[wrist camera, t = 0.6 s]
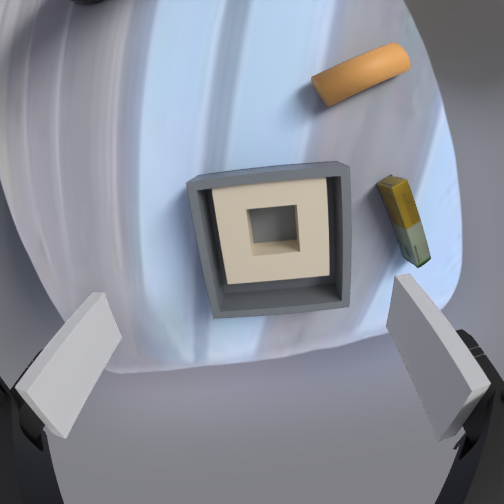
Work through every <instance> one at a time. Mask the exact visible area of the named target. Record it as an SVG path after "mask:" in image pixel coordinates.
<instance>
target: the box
mask: <svg viewBox="0 0 504 504" xmlns="http://www.w3.org/2000/svg"><path fill="white" fill-rule="evenodd" d="M186 185H187V191H188V196H189V202H190V208H191V213H192V218H193V224H194V229H195V234H196V239H197V244H198V249H199V254H200V259H201V264H202V269H203V274H204V278H205V283H206V287H207V292H208V296H209V301H210V305H211V309H212V314H213V318H214V319H215V318H234V317H250V316H264V315H277V314H288V313H299V312H309V311H319V310H328V309H337V308H345V307H349V303H350V284H351V245H352V225H351V186H350V167H349V166H348V165H346V164H343V163H340V162H338V161H333V162H316V163H302V164H290V165H279V166H268V167H259V168H250V169H241V170H233V171H226V172H218V173H211V174H204V175H198V176H196V177H195V178H193V179H191V180H190V181H188V182H186Z"/></svg>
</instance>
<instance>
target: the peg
mask: <svg viewBox="0 0 504 504" xmlns="http://www.w3.org/2000/svg"><path fill="white" fill-rule="evenodd" d="M410 67H411V63H410V59H409V57H408V55H407V53H406V52H405V50H404V49H403V48H402V47H401V46H400V45H398V44H397V43H390V44H388V45H385V46H382V47H380V48H377V49H374V50H372V51H369V52H367V53H364V54H362V55H359V56H357V57H355V58H352V59H350V60H348V61H345V62H343V63H341V64H338V65H336V66H334V67H332V68H330V69H327V70H325V71H323V72H321V73H319V74H317V75H315V76H313V77H311V81H312V84H313V86H314V88H315V90H316V91H317V93H318V94H319V96H320V98H321V99H322V100H323V102H324V103H325V104H326V105H327V106H332V105H334V104H336V103H338V102H340V101H342V100H344V99H346V98H348V97H350V96H352V95H354V94H356V93H358V92H361V91H363V90H365V89H367V88H369V87H371V86H374V85H376V84H378V83H380V82H382V81H385V80H387V79H389V78H392V77H394V76H396V75H399V74H401V73H403V72H406V71H408V70H409V69H410Z"/></svg>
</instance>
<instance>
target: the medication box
mask: <svg viewBox="0 0 504 504" xmlns="http://www.w3.org/2000/svg"><path fill="white" fill-rule="evenodd" d="M377 185H378V188H379V190H380V193H381V195H382V198H383V200H384V203H385V206H386V208H387V211H388V214H389V216H390V219H391V222H392V225H393V227H394V230H395V233H396V236H397V239H398V242H399V245H400V248H401V251H402V254H403V257H404V258H405V259H406V260H407V261H409V262H410V263H412V264H413V265H415V266H416V267H417V268H419V267H421V266H423V265H424V264H425V263H427V262H428V261H429V260H430V259H431V256H430V252H429V248H428V244H427V240H426V237H425V233H424V230H423V226H422V223H421V219H420V216H419V213H418V210H417V207H416V204H415V201H414V198H413V195H412V192H411V189H410V186H409V184H408V181H407V179H403V178H399V177H394V176H392V175H390V176H388V177H387V178H385V179H383V180H382V181H380V182H379V183H377Z"/></svg>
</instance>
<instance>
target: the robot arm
mask: <svg viewBox="0 0 504 504" xmlns="http://www.w3.org/2000/svg"><path fill="white" fill-rule="evenodd" d="M71 1H73V2H75V3H77V4H81V5H89V4H94V3H98V2H101V1H103V0H71ZM386 327H387V329H388V331H389V333H390V335H391V337H392V339H393V341H394V343H395V345H396V347H397V349H398V351H399V353H400V355H401V358H402V359H403V362H404V363H405V366H406V368H407V370H408V372H409V375H410V377H411V379H412V381H413V383H414V386H415V388H416V390H417V392H418V395H419V397H420V400H421V402H422V404H423V406H424V409H425V411H426V414H427V416H428V419H429V421H430V424H431V426H432V429H433V431H434V434H435V437H436V439H437V442H439V441H442V440H444V439H447V438H449V437H452V436H455V435H456V434H457V432H458V431H459V430H460V429H461V427H462V426H463V427H464V430H465V432H466V433H465V434H464V435H463V436H462V437H461V439H460V440H459V441H458V442H457V443H456V445H455V447H454V448H453V449H457V447H458V446H459V445H460V446H459V449H458V452H457V454H456V457H455V459H454V462H453V465H452V467H451V470H450V472H449V474H448V477H447V479H446V481H445V484H444V486H443V488H442V490H441V492H440V494H439V496H438V498H437V500H436V502H435V504H504V381H503V380H502V378H501V377H500V376H499V374H498V372H497V371H496V369H495V368H494V366H493V365H492V363H491V362H490V360H489V359H488V358H487V356H486V355H484V352H483V351H482V349H481V348H480V347H479V345H478V344H477V342H476V341H475V340H474V338H473V337H472V336H471V335H469V334H468V333H467V332H465V331H464V330H462V329H461V330H457V331H455V330H454V329H453V327H452V326H451V324H450V323H449V322H448V320H447V319H446V318H445V317H444V315H443V314H442V313H441V311H440V310H439V309H438V307H437V306H436V305H435V304H434V302H433V301H432V300H431V299H430V297H429V296H428V295H427V294H426V292H425V291H424V290H423V289H422V288H421V286H420V285H419V284H418V283H417V282H416V280H415V279H414V278H413V277H412V276H411V274H403V275H395V277H394V284H393V291H392V297H391V303H390V308H389V314H388V319H387V324H386ZM121 339H122V336H121V334H120V332H119V329H118V327H117V324H116V322H115V319H114V317H113V314H112V312H111V309H110V307H109V304H108V301H107V299H106V296H105V293H104V292H101V293H91V295H90V296H89V297H88V298H87V299H86V300H85V301H84V302H83V303H82V304H81V306H80V307H79V308H78V309H77V310H76V311H75V312H74V314H73V315H72V316H71V317H70V318H69V319H68V320H67V322H66V323H65V324H64V325H63V326H62V328H61V329H60V330H59V331H58V332H57V333H56V335H55V336H54V337H53V338H52V339H51V341H50V342H49V343H48V344H47V346H46V347H45V348H44V349H42V350H41V351H40V352H39V353H38V354H37V355H36V356H35V358H34V359H33V361H32V362H31V363H30V364H29V365H28V368H26V369H25V371H24V372H23V373H22V375H21V376H20V377H19V379H18V380H17V382H16V383H15V384H14V386H13V387H12V388H11V390H10V389H9V388H8V387H7V385H6V384H5V382H4V381H3V380H2V379H1V377H0V504H64V503H63V499H62V496H61V493H60V490H59V486H58V483H57V480H56V476H55V472H54V468H53V464H52V460H51V455H50V450H49V446H48V441H47V435H46V433H45V432H44V431H43V428H44V426H45V425H46V427H47V428H48V429H49V430H50V431H51V432H52V433H53V434H55V435H58V436H60V437H63V438H67V436H68V434H69V432H70V430H71V428H72V426H73V424H74V422H75V420H76V418H77V416H78V414H79V413H80V410H81V409H82V407H83V405H84V403H85V401H86V399H87V397H88V396H89V394H90V392H91V390H92V388H93V387H94V385H95V383H96V381H97V380H98V378H99V376H100V374H101V373H102V371H103V369H104V367H105V366H106V364H107V362H108V361H109V359H110V357H111V355H112V354H113V352H114V350H115V349H116V347H117V345H118V344H119V342H120V340H121Z"/></svg>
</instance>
